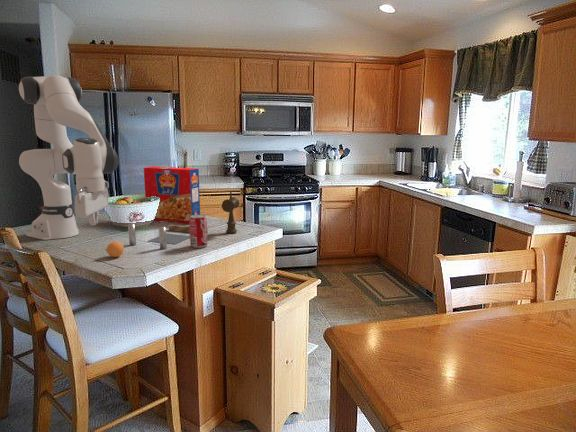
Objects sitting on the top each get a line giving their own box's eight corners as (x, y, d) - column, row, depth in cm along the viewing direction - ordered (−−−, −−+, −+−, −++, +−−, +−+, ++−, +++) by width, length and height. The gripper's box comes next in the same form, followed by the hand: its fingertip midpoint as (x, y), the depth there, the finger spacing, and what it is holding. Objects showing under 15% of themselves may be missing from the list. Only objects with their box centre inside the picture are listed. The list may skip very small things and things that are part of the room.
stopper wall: (168, 230, 204) (168, 225, 204) (171, 229, 206) (170, 224, 205) (205, 234, 198) (205, 228, 197) (207, 233, 199) (207, 228, 199)
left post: (128, 245, 178) (126, 224, 176) (132, 243, 180) (130, 223, 178) (133, 246, 177) (131, 225, 175) (137, 244, 180) (136, 223, 178)
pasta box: (146, 220, 227) (143, 167, 221) (156, 217, 234) (153, 166, 228) (192, 224, 217) (189, 169, 211) (200, 221, 224) (198, 168, 219)
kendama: (222, 234, 197) (221, 192, 193) (228, 230, 206) (227, 189, 202) (234, 235, 196) (233, 192, 192) (240, 230, 205) (240, 189, 201)
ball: (103, 258, 160) (102, 242, 159) (115, 253, 166) (113, 239, 165) (116, 259, 159) (115, 244, 157) (127, 255, 164) (126, 240, 163)
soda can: (203, 249, 173) (202, 218, 171) (187, 248, 175) (186, 217, 172) (210, 244, 180) (209, 214, 178) (194, 243, 182) (193, 213, 179)
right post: (158, 249, 173) (157, 227, 171) (162, 247, 176) (161, 226, 174) (164, 249, 172) (163, 228, 170) (167, 248, 175) (166, 226, 173)
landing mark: (147, 241, 185) (147, 240, 184) (166, 233, 198) (166, 233, 197) (175, 244, 180) (175, 243, 180) (192, 236, 193) (192, 236, 193)
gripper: (87, 189, 138) (91, 231, 140) (110, 182, 158) (113, 218, 160) (67, 189, 137) (71, 231, 140) (92, 182, 157) (96, 218, 160)
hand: (94, 224), depth 150 cm, fingers closed
